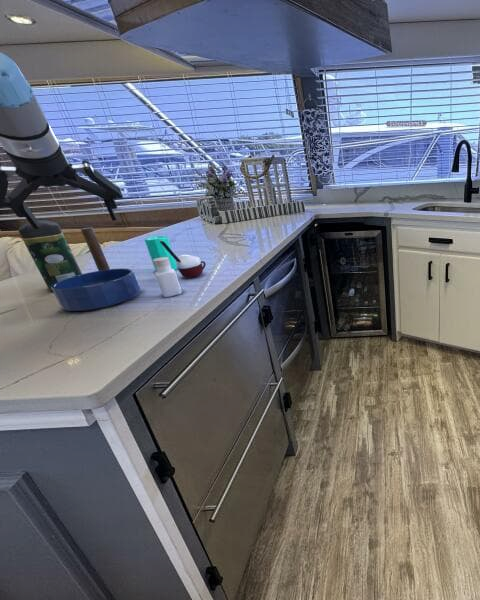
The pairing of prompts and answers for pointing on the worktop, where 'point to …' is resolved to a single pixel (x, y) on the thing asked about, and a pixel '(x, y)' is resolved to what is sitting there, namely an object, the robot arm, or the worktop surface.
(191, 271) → the cocoa
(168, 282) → the salt shaker
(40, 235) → the coffee jar
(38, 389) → the worktop surface
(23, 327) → the worktop surface
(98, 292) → the bowl
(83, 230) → the brown wooden pestle
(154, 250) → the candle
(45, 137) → the robot arm
